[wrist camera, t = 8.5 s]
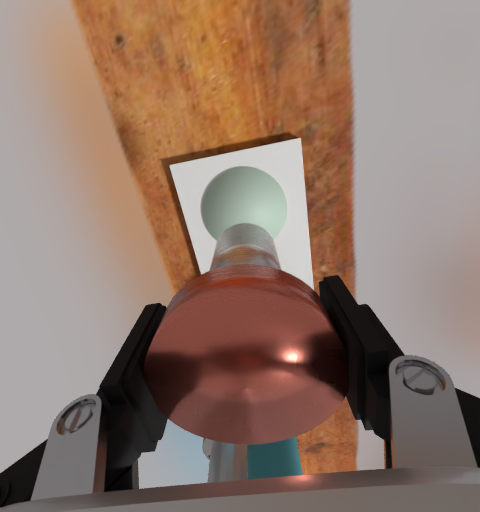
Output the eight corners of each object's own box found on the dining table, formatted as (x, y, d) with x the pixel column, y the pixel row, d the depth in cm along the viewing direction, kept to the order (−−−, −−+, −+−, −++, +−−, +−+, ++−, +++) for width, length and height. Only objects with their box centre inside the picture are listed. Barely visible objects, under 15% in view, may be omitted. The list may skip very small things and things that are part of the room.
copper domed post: (302, 209, 16) (380, 310, 7) (285, 295, 18) (324, 450, 9) (198, 199, 16) (134, 290, 7) (196, 288, 18) (150, 438, 9)
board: (316, 338, 36) (326, 368, 31) (225, 351, 37) (223, 381, 32) (298, 137, 25) (310, 138, 21) (171, 164, 26) (156, 170, 22)
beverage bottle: (252, 362, 38) (260, 569, 20) (294, 372, 39) (338, 580, 20) (239, 391, 41) (236, 596, 22) (279, 399, 41) (306, 605, 23)
